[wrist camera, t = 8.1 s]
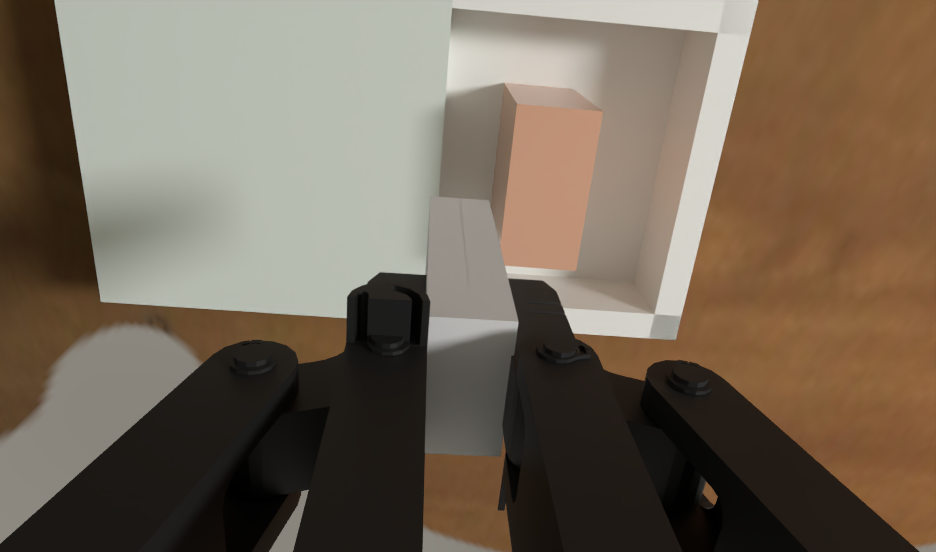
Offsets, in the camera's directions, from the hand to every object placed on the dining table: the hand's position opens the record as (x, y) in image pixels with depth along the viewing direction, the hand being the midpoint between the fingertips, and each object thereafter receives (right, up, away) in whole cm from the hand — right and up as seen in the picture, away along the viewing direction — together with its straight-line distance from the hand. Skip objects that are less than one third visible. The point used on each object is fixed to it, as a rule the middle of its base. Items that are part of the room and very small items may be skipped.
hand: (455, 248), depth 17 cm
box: (+5, +5, +13) cm, 14 cm away
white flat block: (-8, +6, +12) cm, 15 cm away
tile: (+2, +4, +9) cm, 10 cm away
